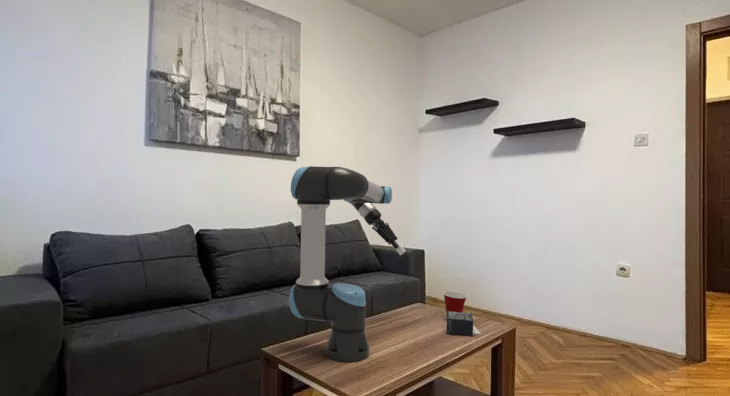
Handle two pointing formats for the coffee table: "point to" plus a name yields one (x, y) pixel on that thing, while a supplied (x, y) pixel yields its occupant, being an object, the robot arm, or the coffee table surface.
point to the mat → (473, 330)
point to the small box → (459, 323)
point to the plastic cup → (454, 301)
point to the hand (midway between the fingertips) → (402, 253)
